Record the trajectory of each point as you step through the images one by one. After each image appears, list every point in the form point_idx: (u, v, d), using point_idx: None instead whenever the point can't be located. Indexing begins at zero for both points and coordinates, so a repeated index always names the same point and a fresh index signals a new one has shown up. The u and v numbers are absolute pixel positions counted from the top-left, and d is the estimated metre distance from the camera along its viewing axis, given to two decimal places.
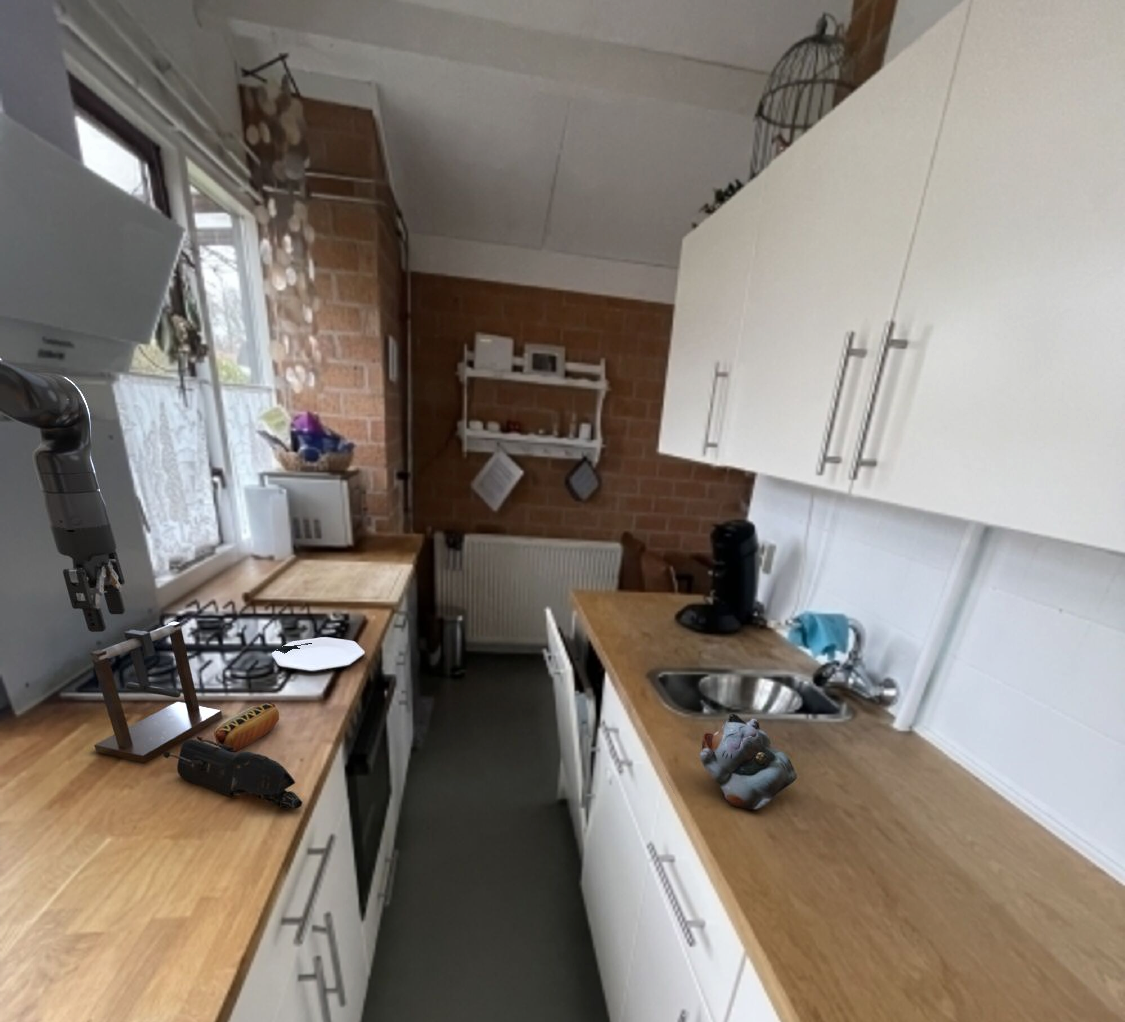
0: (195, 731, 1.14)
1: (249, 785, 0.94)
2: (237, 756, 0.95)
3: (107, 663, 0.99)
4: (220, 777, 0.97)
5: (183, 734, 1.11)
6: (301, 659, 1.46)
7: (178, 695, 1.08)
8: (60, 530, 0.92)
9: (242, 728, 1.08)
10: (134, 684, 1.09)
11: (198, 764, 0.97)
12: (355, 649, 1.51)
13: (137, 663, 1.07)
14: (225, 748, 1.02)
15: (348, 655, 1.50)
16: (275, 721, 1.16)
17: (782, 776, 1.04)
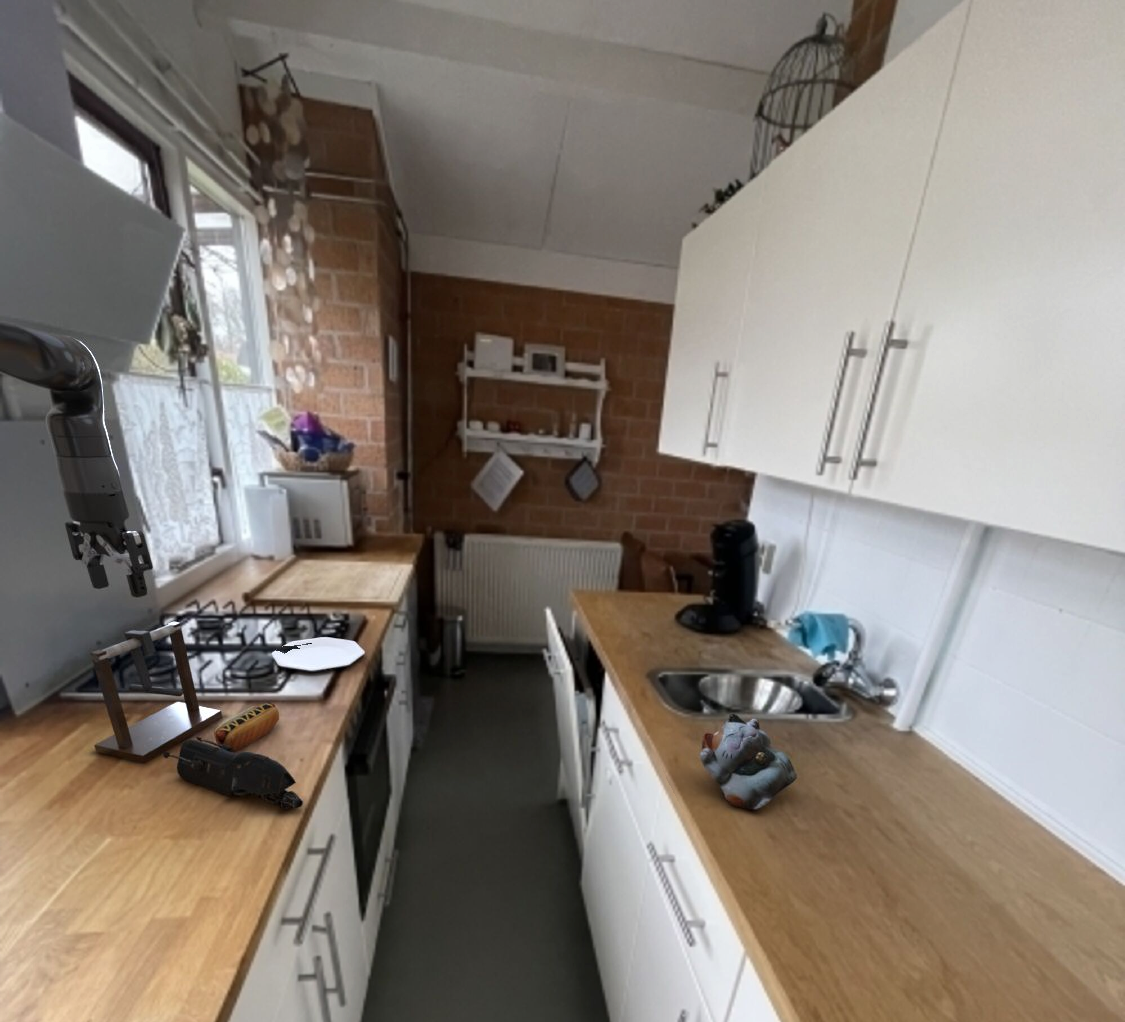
0: (195, 731, 1.14)
1: (250, 785, 0.94)
2: (237, 756, 0.95)
3: (107, 663, 0.99)
4: (220, 777, 0.97)
5: (183, 734, 1.11)
6: (301, 659, 1.46)
7: (180, 694, 1.07)
8: (101, 496, 0.92)
9: (242, 728, 1.08)
10: (137, 685, 1.09)
11: (198, 764, 0.97)
12: (355, 649, 1.51)
13: (138, 663, 1.07)
14: (225, 748, 1.02)
15: (348, 655, 1.50)
16: (275, 721, 1.16)
17: (782, 776, 1.04)
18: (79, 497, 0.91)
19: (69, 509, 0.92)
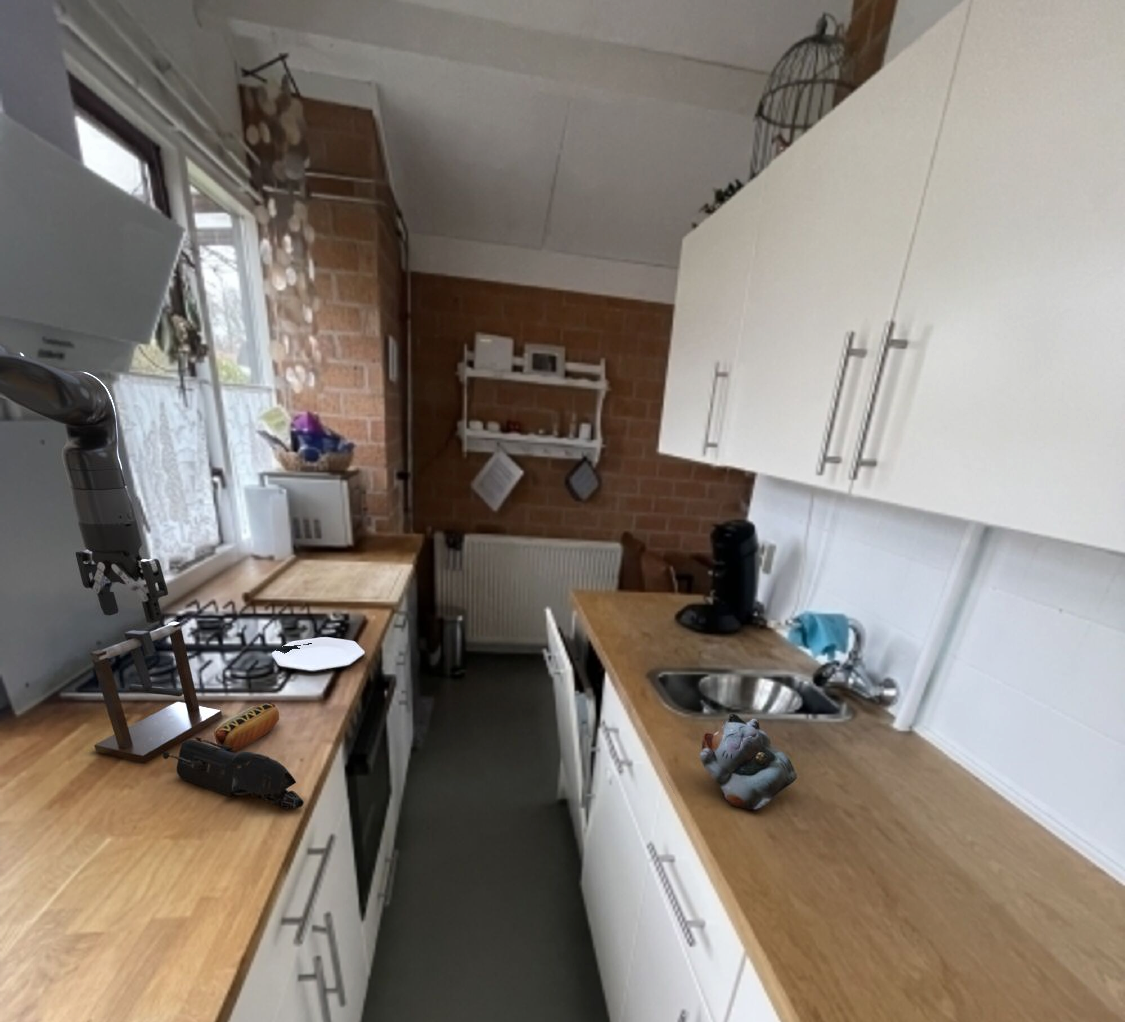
0: (195, 731, 1.14)
1: (250, 785, 0.94)
2: (237, 756, 0.95)
3: (107, 663, 0.99)
4: (220, 777, 0.97)
5: (183, 734, 1.11)
6: (301, 659, 1.46)
7: (180, 694, 1.07)
8: (118, 526, 0.94)
9: (242, 728, 1.08)
10: (137, 686, 1.09)
11: (198, 764, 0.97)
12: (355, 649, 1.51)
13: (138, 663, 1.07)
14: (225, 748, 1.02)
15: (348, 655, 1.50)
16: (275, 721, 1.16)
17: (782, 776, 1.04)
18: (97, 528, 0.93)
19: (85, 540, 0.94)
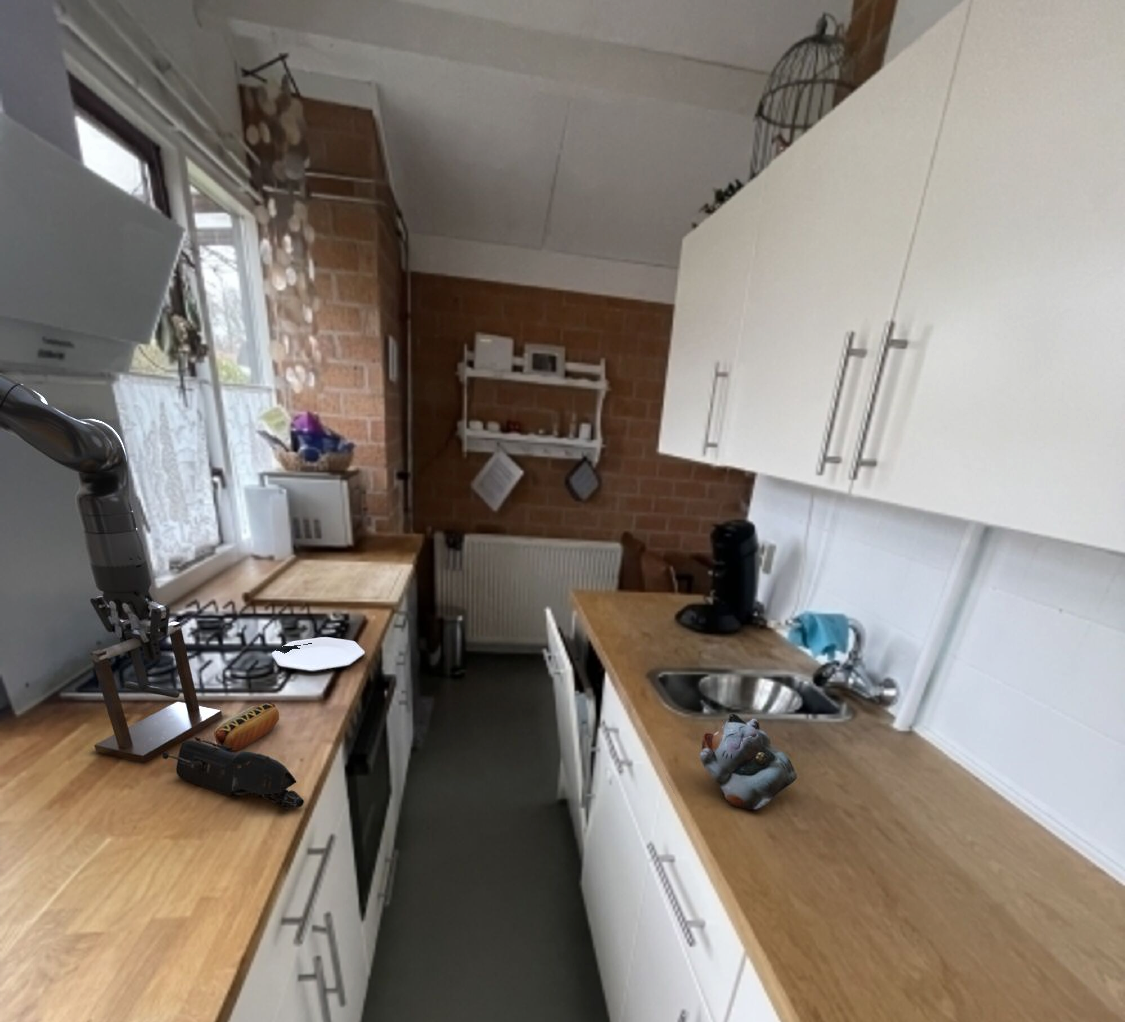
0: (195, 731, 1.14)
1: (250, 785, 0.94)
2: (237, 756, 0.95)
3: (107, 663, 0.99)
4: (221, 777, 0.97)
5: (183, 734, 1.11)
6: (301, 659, 1.46)
7: (177, 695, 1.08)
8: (129, 567, 0.97)
9: (242, 728, 1.08)
10: (133, 684, 1.09)
11: (198, 765, 0.97)
12: (355, 649, 1.51)
13: (136, 662, 1.07)
14: (224, 748, 1.01)
15: (348, 655, 1.50)
16: (275, 721, 1.16)
17: (782, 776, 1.04)
18: (108, 570, 0.96)
19: (97, 581, 0.97)
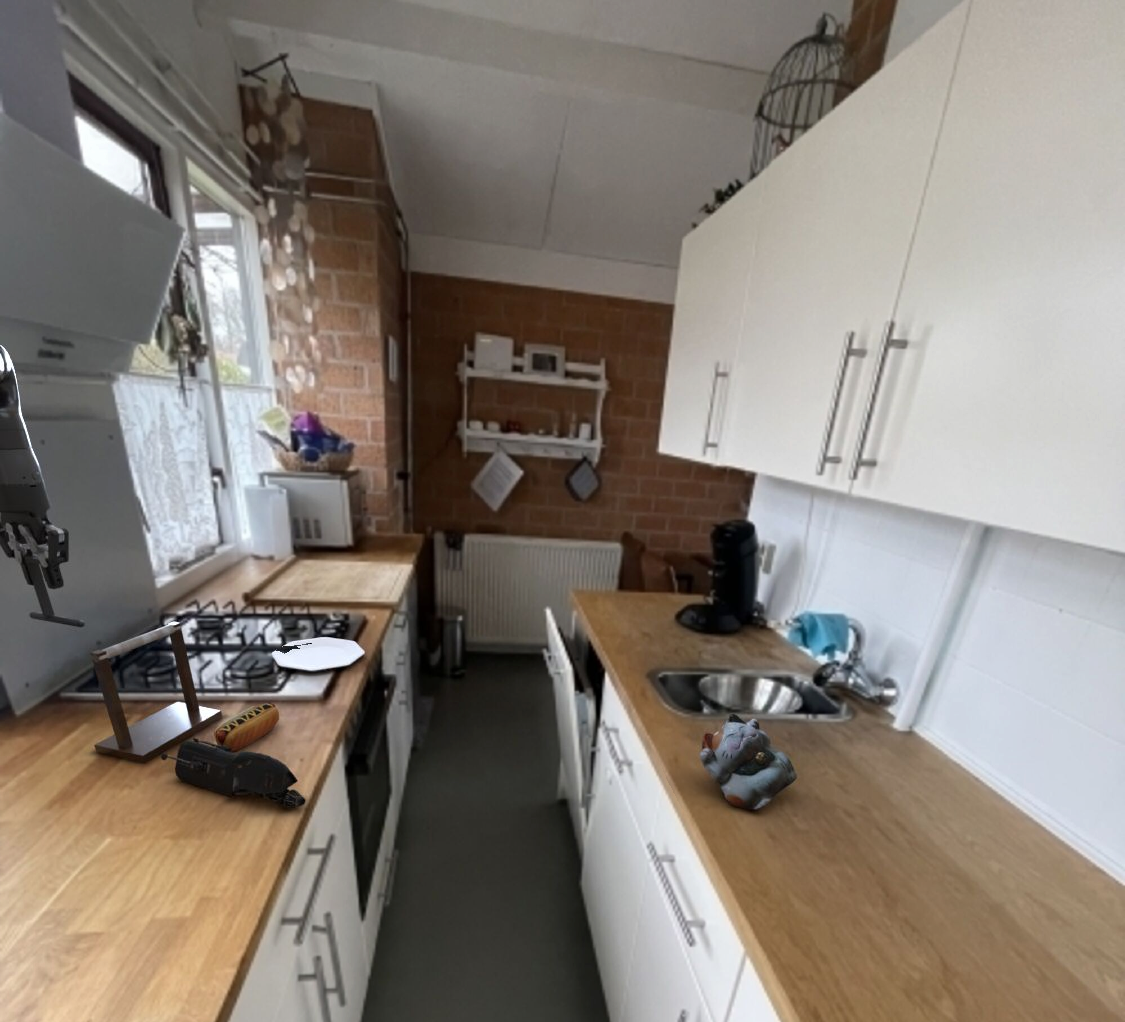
0: (195, 731, 1.14)
1: (252, 784, 0.94)
2: (238, 756, 0.96)
3: (107, 663, 0.99)
4: (221, 777, 0.97)
5: (183, 734, 1.11)
6: (301, 659, 1.46)
7: (82, 624, 1.06)
8: (22, 486, 0.95)
9: (242, 728, 1.08)
10: (38, 613, 1.08)
11: (198, 765, 0.97)
12: (355, 649, 1.51)
13: (39, 590, 1.05)
14: (223, 749, 1.01)
15: (348, 655, 1.50)
16: (275, 721, 1.16)
17: (782, 776, 1.04)
18: (0, 488, 0.94)
19: None
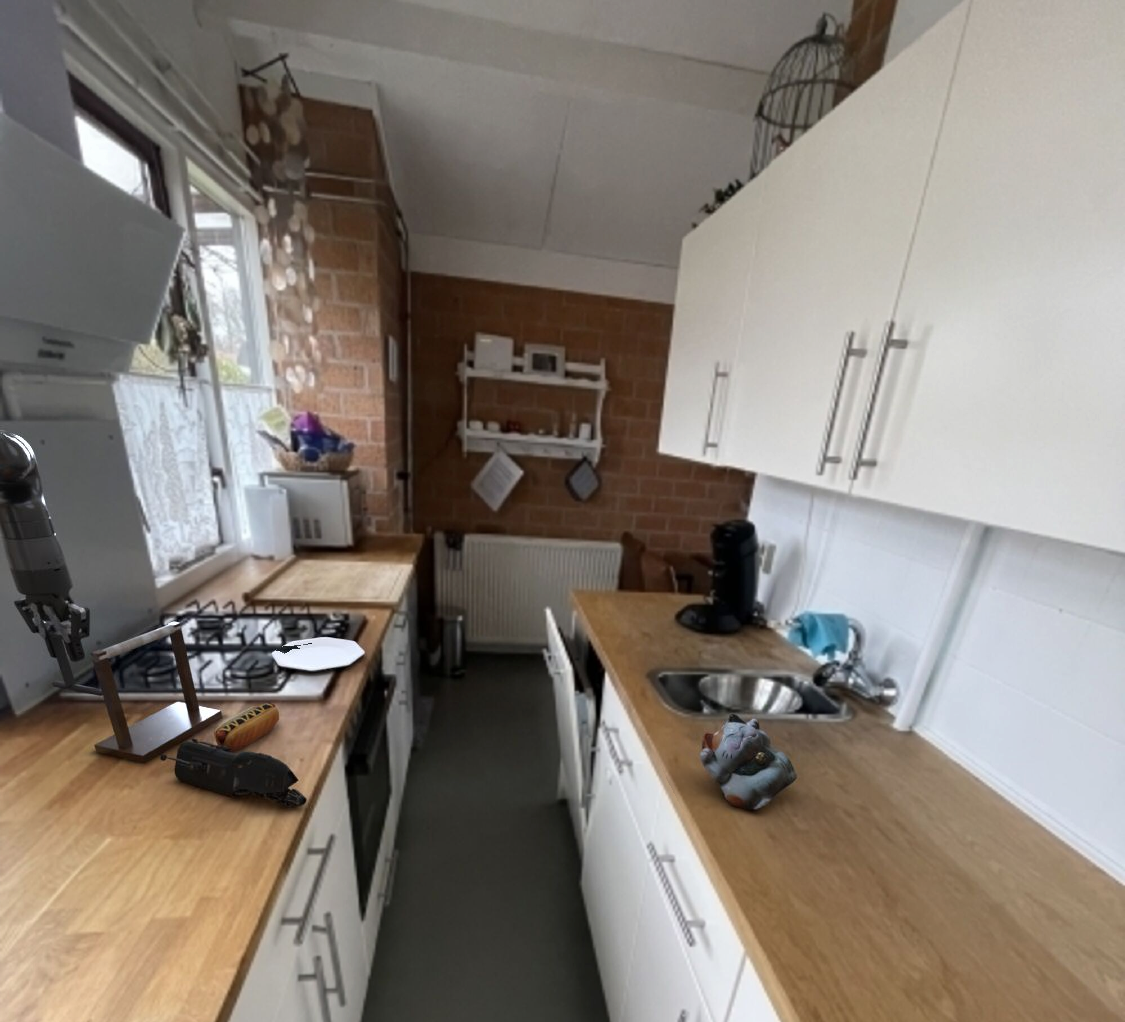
0: (195, 731, 1.14)
1: (252, 784, 0.94)
2: (238, 756, 0.96)
3: (107, 663, 0.99)
4: (221, 777, 0.97)
5: (183, 734, 1.11)
6: (301, 659, 1.46)
7: None
8: (47, 571, 1.01)
9: (242, 728, 1.08)
10: (60, 682, 1.14)
11: (197, 765, 0.97)
12: (355, 649, 1.51)
13: (61, 662, 1.11)
14: (223, 749, 1.01)
15: (348, 655, 1.50)
16: (275, 721, 1.16)
17: (782, 776, 1.04)
18: (26, 574, 1.00)
19: (16, 584, 1.01)
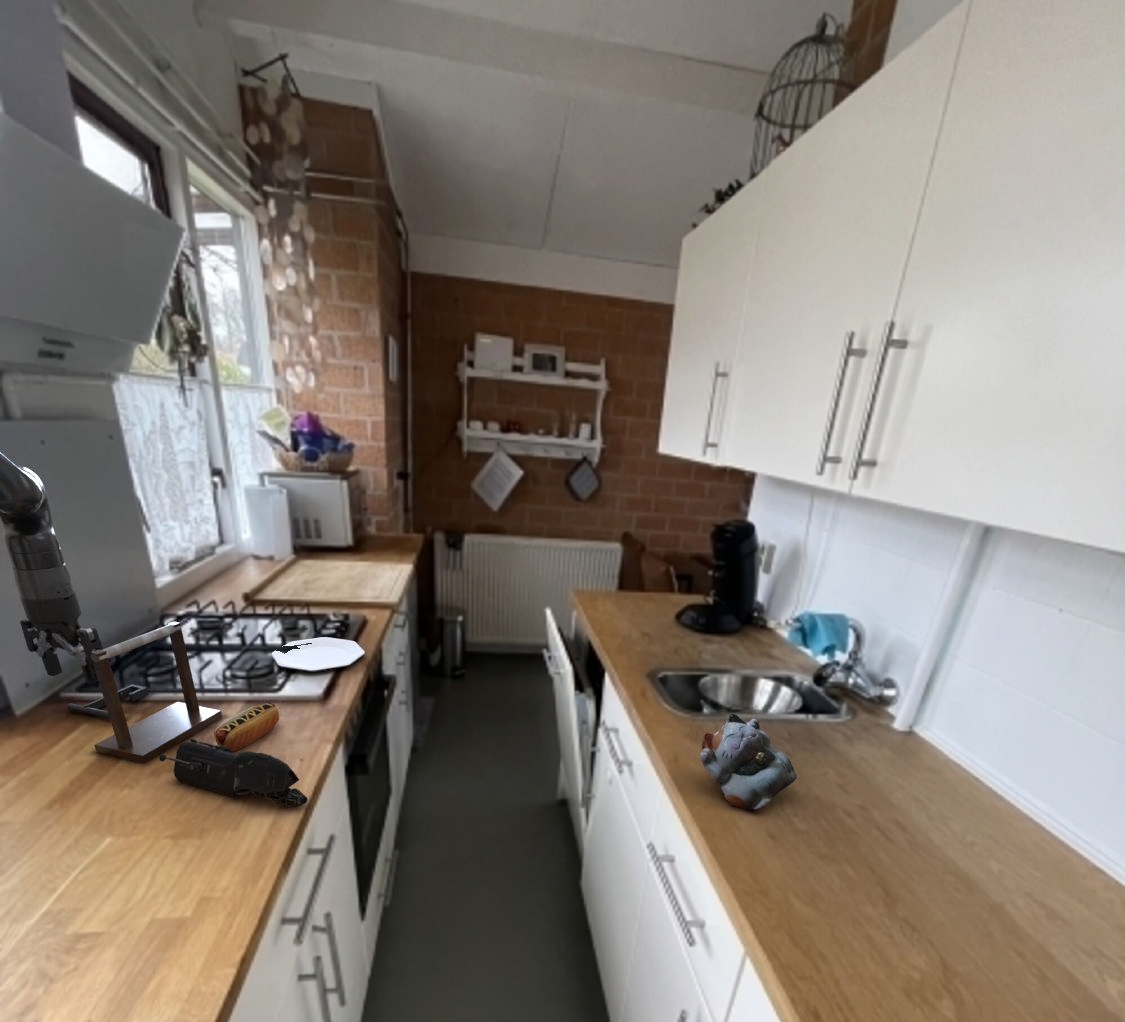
0: (195, 731, 1.14)
1: (253, 784, 0.94)
2: (239, 756, 0.96)
3: (107, 663, 0.99)
4: (221, 777, 0.97)
5: (183, 734, 1.11)
6: (301, 659, 1.46)
7: None
8: (56, 600, 1.04)
9: (242, 728, 1.08)
10: None
11: (197, 766, 0.97)
12: (355, 649, 1.51)
13: None
14: (222, 749, 1.01)
15: (348, 655, 1.50)
16: (275, 721, 1.16)
17: (782, 776, 1.04)
18: (36, 603, 1.03)
19: (26, 612, 1.04)
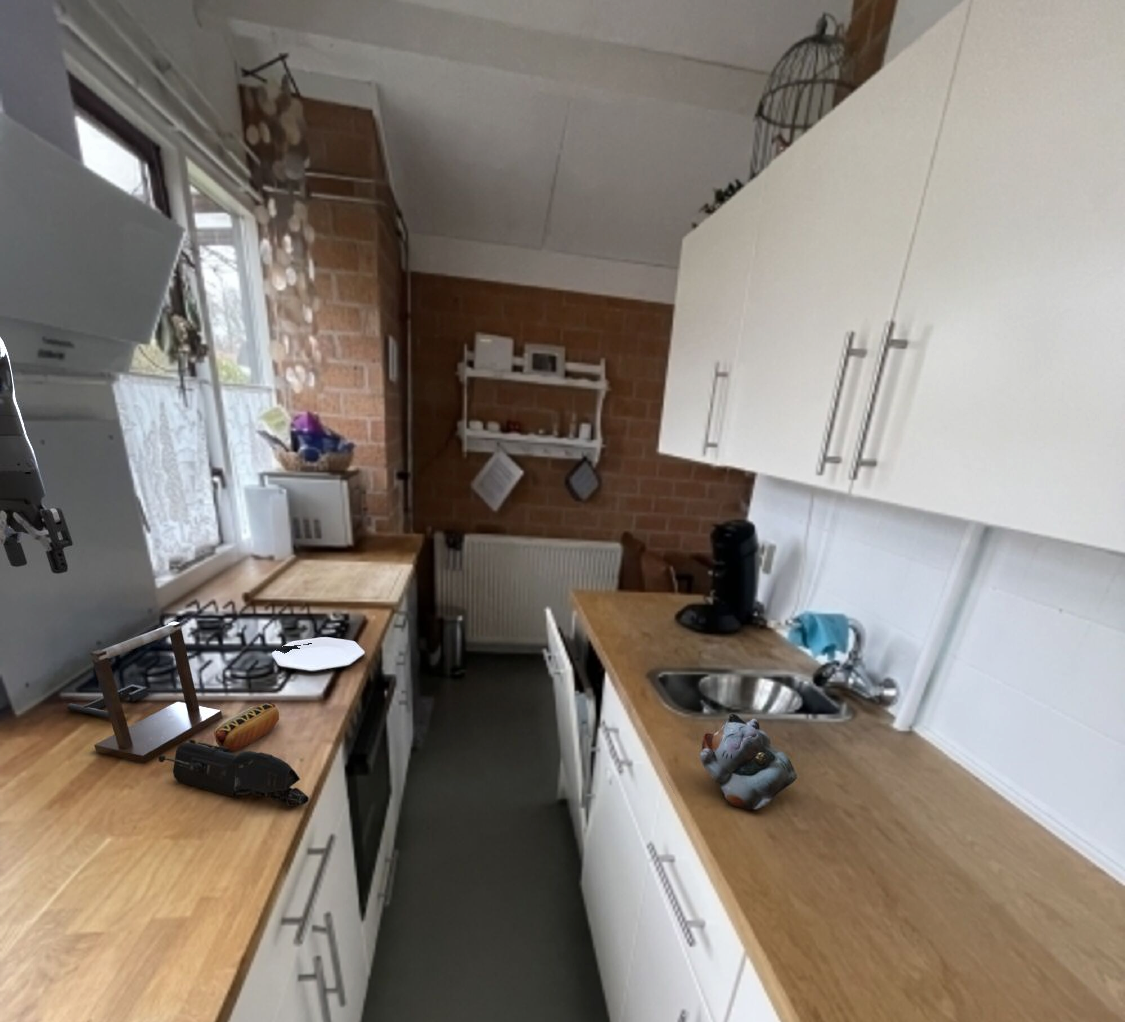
0: (195, 731, 1.14)
1: (254, 784, 0.94)
2: (239, 756, 0.96)
3: (107, 663, 0.99)
4: (222, 777, 0.96)
5: (183, 734, 1.11)
6: (301, 659, 1.46)
7: None
8: (17, 473, 0.95)
9: (242, 728, 1.08)
10: None
11: (197, 766, 0.97)
12: (355, 649, 1.51)
13: None
14: (222, 749, 1.01)
15: (348, 655, 1.50)
16: (275, 721, 1.16)
17: (782, 776, 1.04)
18: None
19: None
